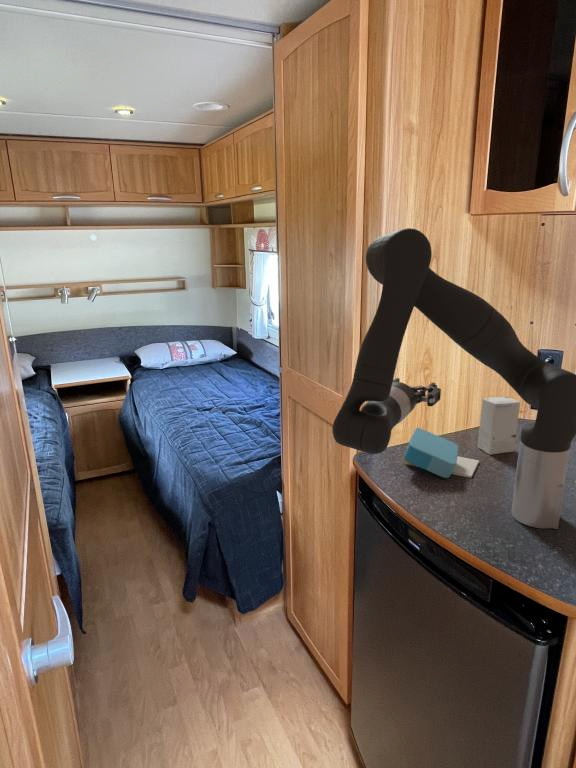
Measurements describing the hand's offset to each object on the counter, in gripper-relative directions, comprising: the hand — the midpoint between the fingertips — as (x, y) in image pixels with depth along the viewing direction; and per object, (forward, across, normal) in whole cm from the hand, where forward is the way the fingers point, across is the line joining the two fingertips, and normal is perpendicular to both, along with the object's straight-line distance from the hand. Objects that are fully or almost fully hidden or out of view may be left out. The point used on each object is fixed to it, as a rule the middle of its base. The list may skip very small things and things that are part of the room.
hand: (415, 384), depth 117 cm
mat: (+13, -6, +25) cm, 29 cm away
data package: (+3, -4, +21) cm, 21 cm away
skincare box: (+29, -16, +25) cm, 41 cm away
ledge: (+13, +2, +25) cm, 28 cm away
